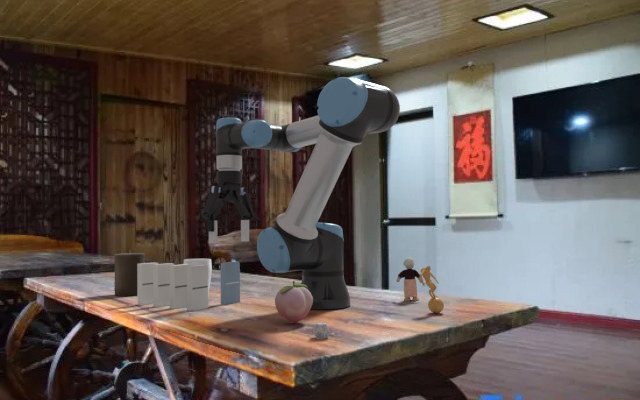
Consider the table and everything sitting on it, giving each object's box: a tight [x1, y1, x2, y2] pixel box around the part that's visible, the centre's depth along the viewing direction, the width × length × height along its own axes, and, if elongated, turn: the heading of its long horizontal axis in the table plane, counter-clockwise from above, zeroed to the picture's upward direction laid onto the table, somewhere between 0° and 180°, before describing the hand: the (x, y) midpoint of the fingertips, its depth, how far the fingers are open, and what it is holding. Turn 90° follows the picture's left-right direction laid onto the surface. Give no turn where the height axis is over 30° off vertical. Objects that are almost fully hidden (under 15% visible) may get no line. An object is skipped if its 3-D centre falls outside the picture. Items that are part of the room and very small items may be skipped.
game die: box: [312, 322, 331, 340], centre depth 117 cm, size 4×4×3 cm
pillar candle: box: [113, 249, 146, 297], centre depth 192 cm, size 10×10×15 cm
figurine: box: [419, 265, 445, 314], centre depth 147 cm, size 8×6×12 cm
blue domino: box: [220, 261, 241, 306], centre depth 169 cm, size 2×6×12 cm, turn 146°
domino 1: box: [136, 261, 159, 306], centre depth 170 cm, size 2×6×12 cm, turn 146°
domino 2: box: [152, 262, 175, 308], centre depth 166 cm, size 2×6×12 cm, turn 146°
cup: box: [183, 258, 213, 296], centre depth 184 cm, size 9×9×12 cm
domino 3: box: [169, 263, 191, 310], centre depth 162 cm, size 2×6×12 cm, turn 146°
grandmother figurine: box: [396, 256, 422, 302], centre depth 170 cm, size 8×4×13 cm, turn 92°
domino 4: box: [186, 265, 209, 312], centre depth 158 cm, size 2×6×12 cm, turn 146°
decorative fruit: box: [274, 280, 313, 324], centre depth 134 cm, size 9×8×10 cm
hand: (229, 242), depth 169 cm, fingers open, 13 cm apart
